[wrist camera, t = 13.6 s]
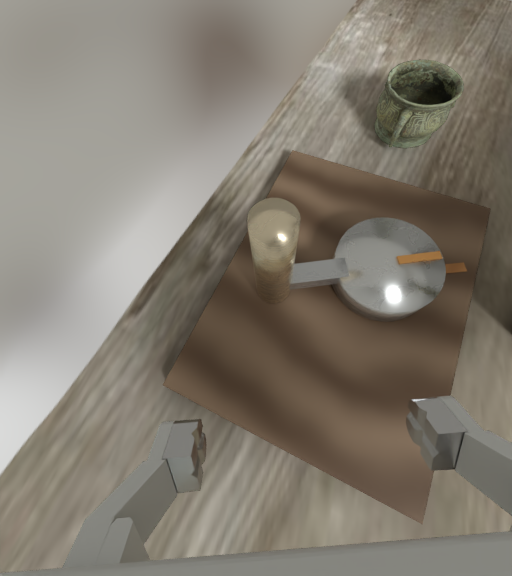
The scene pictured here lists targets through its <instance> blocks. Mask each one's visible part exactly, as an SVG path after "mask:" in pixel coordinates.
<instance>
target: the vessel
mask: <svg viewBox="0 0 512 576" xmlns="http://www.w3.org/2000/svg"><path fill="white" fill-rule="evenodd" d="M385 87H386V88H385V90H384V91H383V93H382V94H381V96H380V98H379V102H378V105H377V109H376V112H377V119H376V122H375V131H376V134H377V135H378V136H379V138H380V139H381V140H382V141H384V142H385V143H387V144H388V145H389V147H392V146H394V147H399V148H412V147H417V146H420V145H422V144H424V143H426V142H427V140H428V139H429V138H430V137H431V133H433V132H435V131H436V130H437V129H439V128H440V127H441V126H442V125H443V124H444V122H445V121H446V120H447V117H448V114H449V111H450V108H452V107H454V105H455V102H456V99H458V98H459V97H460V96H461V94H462V92H463V90H464V83H463V81H462V79H461V77H460V75H459V74H458V73H456V72H455V71H454V70H453V69H452V68H450V67H449V66H447V65H445V64H442V63H440V62H436V61H431V60H414V61H407V62H404V63H401V64H398V65H397V66H396V67H394V68H393V69H392V70H391V71H390V73H389V75H388V79H387V82H386V84H385Z"/></svg>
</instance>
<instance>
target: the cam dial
mask: <svg viewBox="0 0 512 576" xmlns="http://www.w3.org/2000/svg"><path fill="white" fill-rule="evenodd" d="M300 220H301V218H300V214H299V211H298V209H297V208H296V207H295V206H294V205H293V204H292V203H291V202H289V201H287V200H285V199H281V198H267V199H264V200H261V201H259V202H258V203H256V204H255V205H254V206H253V207H252V208H251V209H250V211H249V213H248V216H247V226H248V232H249V239H250V246H251V252H252V259H253V266H254V272H255V279H256V286H257V292H258V295H259V296H260V298H261V299H262V300H264V301H265V302H267V303H271V304H277V303H280V302H282V301H284V300H285V299H286V298H287V297H288V296H289V293H290V290H292V289H300V288H308V287H316V286H324V285H332V287H333V289H334V291H335V293H336V294H337V296H338V298H339V299H340V300H341V301H342V302H343V303H344V304H345V305H346V306H347V307H348V308H349V309H350V310H352V311H353V312H355V313H357V314H358V315H360V316H363V317H365V318H368V319H371V320H376V321H385V322H387V321H396V320H400V319H403V318H406V317H408V316H410V315H412V314H413V313H415V312H416V311H418V310H420V309H421V308H423V307H424V306H426V305H427V304H429V303H430V302H432V301H433V300H434V299H435V298H436V297H437V295H438V294H439V293H440V291H441V289H442V287H443V285H444V281H445V276H446V267H445V261H444V258H443V255H442V253H441V251H440V249H439V248H438V246H437V245H436V243H435V242H434V241H433V240H432V238H431V237H430V236H429V235H427V234H426V233H425V232H424V231H422V230H421V229H420V228H418V227H416V226H415V225H412V224H410V223H408V222H405V221H402V220H399V219H394V218H382V217H381V218H372V219H368V220H364V221H362V222H359V223H357V224H356V225H354V226H352V227H351V228H350V229H349V230H347V232H346V233H345V234H344V235H343V236H342V238H341V239H340V241H339V243H338V246H337V248H336V251H335V253H334V256H333V258H332V259H330V260H322V261H314V262H306V263H298V264H294V262H295V255H296V249H297V242H298V235H299V228H300Z"/></svg>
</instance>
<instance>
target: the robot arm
mask: <svg viewBox="0 0 512 576" xmlns="http://www.w3.org/2000/svg"><path fill="white" fill-rule="evenodd" d="M408 408H409V410H410V411H411V412H410V413H409V414H408V415H407V416H406V426H407V430H408V433H409V435H410V437H411V439H412V441H413V442H414V443H415V444H417V445H418V446H420V447H421V450H420V454H421V456H422V457H423V459H424V461H425V462H426V464H427V466H428V467H429V469H430V470H431V471H433V470H450V469H455V471H456V472H457V473H459V474H460V475H461V476H462V477H464V478H465V479H466V480H467V481H469V482H470V483H471V484H472V485H474V486H475V487H476V488H477V489H479V490H480V491H481V492H482V493H484V494H485V495H486V496H487V497H489V498H490V499H491V500H493V501H494V502H495V503H496V504H498V505H499V506H500V507H501V508H503V509H504V510H505V511H506V512H508V513H509V514H510V515H511V516H512V443H511V442H509V441H507V440H505V439H503V438H501V437H499V436H498V435H496V434H494V433H492V432H490V431H484V430H483V429H482V428H481V427H480V426H479V425H478V423H477V422H476V421H475V420H474V419H473V418H472V417H471V416H470V415H469V414H468V412H467V411H466V410H465V409H464V408H463V407H462V406H461V405H460V404H459V402H458V401H457V400H456V399H455V398H454V397H452V396H441V397H430V398H420V399H411V400H410V401H409V402H408ZM202 427H203V425H202V422H201V420H200V419H195V420H180V421H168V422H162V423H161V424H160V426H159V429H158V431H157V434H156V437H155V440H154V443H153V446H152V448H151V451H150V454H149V457H148V460H147V461H143V462H142V463H141V464H140V465H139V466H138V467H137V468H136V469H135V470H134V471H133V472H132V473H131V474H130V475H129V476H128V477H127V478H126V479H125V480H124V481H123V482H122V483H121V484H120V485H119V486H118V487H117V488H116V489H115V490H114V491H113V492H112V493H111V494H110V495H109V496H108V497H107V498H106V499H105V500H104V501H103V502H102V503H101V504H100V505H99V506H98V507H97V508H96V509H95V510H94V511H93V512H92V513H91V514H90V515H89V516H88V517H87V518H86V519H85V521H84V523H83V525H82V527H81V529H80V532H79V534H78V536H77V538H76V540H75V542H74V544H73V546H72V548H71V551H70V553H69V555H68V557H67V559H66V561H65V563H64V565H63V567H62V568H54V569H41V570H29V571H17V572H4V573H0V576H512V526H511V528H510V531H508V532H496V533H484V534H472V535H459V536H447V537H435V538H423V539H410V540H398V541H386V542H373V543H361V544H348V545H336V546H323V547H311V548H299V549H287V550H275V551H262V552H250V553H238V554H226V555H213V556H201V557H189V558H177V559H164V560H152V561H150V558H149V556H148V554H147V552H146V549H145V547H144V543H145V542H146V540H147V539H148V537H149V536H150V534H151V533H152V532H153V530H154V529H155V527H156V526H157V524H158V523H159V521H160V520H161V518H162V517H163V515H164V514H165V512H166V511H167V509H168V508H169V507H170V505H171V504H172V502H173V501H174V499H175V498H176V496H177V493H184V492H192V491H200V490H201V483H202V477H203V469H202V464H203V463H204V461H205V457H206V438H205V434H204V433H203V432H202Z"/></svg>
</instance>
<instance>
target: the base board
mask: <svg viewBox="0 0 512 576" xmlns="http://www.w3.org/2000/svg"><path fill="white" fill-rule="evenodd" d="M267 198H281V199H285V200H287V201H289V202H291V203H292V204H293V205H294V206H295V207H296V208H297V209H298V211H299V214H300V218H301V220H300V228H299V235H298V242H297V249H296V255H295V262H294V264H298V263H306V262H314V261H322V260H330V259H332V258H333V256H334V253H335V251H336V248H337V246H338V243H339V241H340V239H341V238H342V236H343V235H344V234H345V233H346V232H347V230H349V229H350V228H351V227H352V226H354V225H356V224H357V223H359V222H362V221H364V220H368V219H372V218H381V217H382V218H394V219H399V220H402V221H405V222H408V223H410V224H412V225H415V226H416V227H418V228H420V229H421V230H422V231H424V232H425V233H426V234H427V235H429V236H430V237H431V238H432V240H433V241H434V242H435V243H436V245H437V246H438V248H439V249H440V251H441V253H442V255H443V258H444V261H445V267H446V276H445V281H444V285H443V287H442V289H441V291H440V293H439V294H438V295H437V297H436V298H435V299H434V300H433V301H432V302H430V303H429V304H427V305H426V306H424V307H423V308H421V309H420V310H418V311H416V312H415V313H413V314H412V315H410V316H408V317H406V318H403V319H400V320H396V321H387V322H385V321H376V320H371V319H368V318H365V317H363V316H360V315H358V314H357V313H355V312H353V311H352V310H350V309H349V308H348V307H347V306H346V305H345V304H344V303H343V302H342V301H341V300H340V299H339V298H338V296H337V294H336V293H335V291H334V289H333V287H332V285H324V286H316V287H308V288H300V289H292V290H290V293H289V296H288V297H287V298H286V299H285V300H284V301H282V302H280V303H277V304H271V303H267V302H265V301H264V300H262V299H261V298H260V296H259V295H258V292H257V286H256V279H255V272H254V266H253V259H252V252H251V246H250V239H249V232H247V234H246V235H245V237H244V239H243V241H242V243H241V244H240V246H239V248H238V250H237V252H236V253H235V255H234V257H233V259H232V261H231V262H230V264H229V266H228V268H227V270H226V271H225V273H224V275H223V277H222V279H221V280H220V282H219V284H218V286H217V288H216V289H215V291H214V293H213V295H212V297H211V299H210V300H209V302H208V304H207V306H206V308H205V309H204V311H203V313H202V315H201V317H200V318H199V320H198V322H197V324H196V326H195V327H194V329H193V331H192V333H191V335H190V336H189V338H188V340H187V342H186V344H185V345H184V347H183V349H182V351H181V353H180V354H179V356H178V358H177V360H176V362H175V363H174V365H173V367H172V369H171V371H170V373H169V374H168V376H167V378H166V380H165V382H164V383H163V386H165V387H167V388H169V389H171V390H173V391H175V392H177V393H178V394H180V395H182V396H184V397H186V398H188V399H190V400H191V401H193V402H195V403H197V404H199V405H201V406H203V407H204V408H206V409H208V410H210V411H212V412H214V413H216V414H218V415H219V416H221V417H223V418H225V419H227V420H229V421H231V422H232V423H234V424H236V425H238V426H240V427H242V428H244V429H246V430H247V431H249V432H251V433H253V434H255V435H257V436H259V437H260V438H262V439H264V440H266V441H268V442H270V443H272V444H273V445H275V446H277V447H279V448H281V449H283V450H285V451H287V452H288V453H290V454H292V455H294V456H296V457H298V458H300V459H301V460H303V461H305V462H307V463H309V464H311V465H313V466H315V467H316V468H318V469H320V470H322V471H324V472H326V473H328V474H329V475H331V476H333V477H335V478H337V479H339V480H341V481H343V482H344V483H346V484H348V485H350V486H352V487H354V488H356V489H357V490H359V491H361V492H363V493H365V494H367V495H369V496H370V497H372V498H374V499H376V500H378V501H380V502H382V503H384V504H385V505H387V506H389V507H391V508H393V509H395V510H397V511H398V512H400V513H402V514H404V515H406V516H408V517H410V518H412V519H413V520H415V521H417V522H419V523H421V524H423V519H424V515H425V510H426V505H427V501H428V496H429V491H430V487H431V482H432V478H433V473H434V470H433V471H431V470H430V469H429V467H428V466H427V464H426V462H425V461H424V459H423V457H422V456H421V454H420V450H421V447H420V446H418V445H417V444H415V443H414V442H413V441H412V439H411V437H410V435H409V433H408V430H407V426H406V416H407V415H408V414H409V413H410V412H411V411H410V410H409V408H408V402H409V401H410V400H411V399H420V398H430V397H441V396H450V394H451V390H452V385H453V380H454V376H455V371H456V366H457V362H458V357H459V353H460V348H461V343H462V339H463V334H464V329H465V325H466V320H467V316H468V311H469V306H470V302H471V297H472V292H473V288H474V283H475V279H476V274H477V269H478V265H479V260H480V255H481V251H482V246H483V242H484V237H485V232H486V228H487V223H488V218H489V214H490V208H486V207H483V206H480V205H476V204H473V203H469V202H466V201H463V200H459V199H456V198H452V197H449V196H446V195H442V194H439V193H436V192H432V191H429V190H425V189H422V188H419V187H415V186H412V185H408V184H405V183H402V182H398V181H395V180H391V179H388V178H385V177H381V176H378V175H374V174H371V173H368V172H364V171H361V170H358V169H354V168H351V167H347V166H344V165H341V164H337V163H334V162H330V161H327V160H324V159H320V158H317V157H313V156H310V155H307V154H303V153H300V152H296V151H292V152H291V154H290V156H289V158H288V160H287V161H286V163H285V165H284V167H283V169H282V170H281V172H280V174H279V176H278V178H277V179H276V181H275V183H274V185H273V187H272V188H271V190H270V192H269V194H268V196H267V197H266V199H267Z"/></svg>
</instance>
